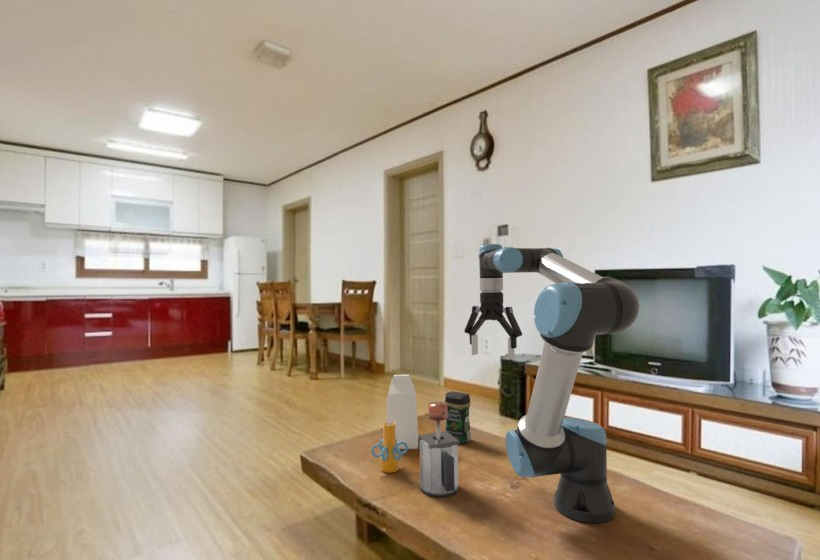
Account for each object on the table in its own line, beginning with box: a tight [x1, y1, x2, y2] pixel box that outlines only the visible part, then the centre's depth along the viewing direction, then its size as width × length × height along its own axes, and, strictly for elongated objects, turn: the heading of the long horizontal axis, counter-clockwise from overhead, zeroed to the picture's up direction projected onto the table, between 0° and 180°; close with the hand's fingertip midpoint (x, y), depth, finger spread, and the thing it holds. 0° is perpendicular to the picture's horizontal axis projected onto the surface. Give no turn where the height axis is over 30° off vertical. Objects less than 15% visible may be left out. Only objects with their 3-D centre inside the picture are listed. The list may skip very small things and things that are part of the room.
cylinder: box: [370, 421, 409, 474], centre depth 143 cm, size 12×10×15 cm
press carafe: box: [418, 430, 460, 499], centre depth 127 cm, size 14×11×15 cm
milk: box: [385, 374, 419, 450], centre depth 166 cm, size 12×12×26 cm
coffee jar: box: [444, 390, 472, 445], centre depth 168 cm, size 10×8×19 cm
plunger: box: [428, 401, 448, 440], centre depth 129 cm, size 6×6×22 cm
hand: (492, 356), depth 142 cm, fingers open, 13 cm apart
